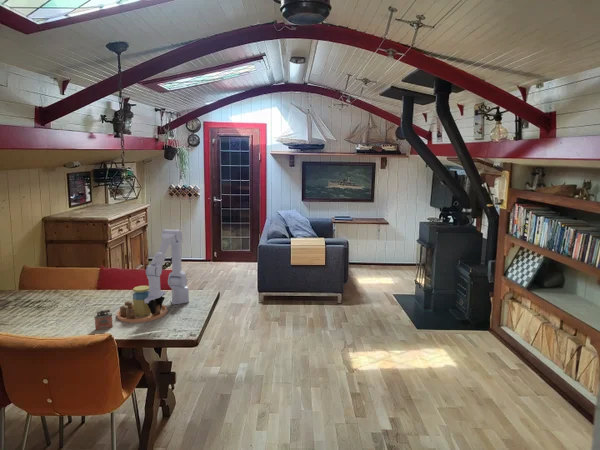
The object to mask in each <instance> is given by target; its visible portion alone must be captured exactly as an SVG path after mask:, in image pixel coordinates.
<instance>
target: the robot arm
mask: <svg viewBox="0 0 600 450" xmlns="http://www.w3.org/2000/svg"><path fill="white" fill-rule="evenodd" d="M160 236H161V242H160V245H159V247H158V252H155V253H154V256H153V257H152V260H151V262H150V264H148V265H147V267H146V268H145V276H146V278H147V280H148V286H149V295H148V297H147V298H146V299H144V302H145V303H147V305H148V306H149V308H150V311H151V314H155V309H156V304H158V305H160V311H161V307H162V304H164V300H165V296H166V294H167V293H166V291H163V290H162V289H161V275H162V272H163V264H164V261H165V260H166V252H167V251H168V249H169V247H170V245H171V272H170V273H169V274H168V279H167V285H168V286H169V288H170V289H171V299H170V302H171V304H172V306H174V305H181V304H188V303H190V296H189V295H190V294H189V293H190V292H189V286H187V284H188V278H187V274H186V272H185V271H183V270H182V243H183V231H181V230H180V229H167V228H164V229H163V230H161V235H160ZM154 300H155V301H154ZM151 314H150V315H151Z"/></svg>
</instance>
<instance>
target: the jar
mask: <svg viewBox="0 0 600 450" xmlns="http://www.w3.org/2000/svg"><path fill="white" fill-rule="evenodd" d="M132 291H133V293H132V302H133V307H134V314H135V317H144V316H148V315H151V311H150V308H149V306H148V305H147V303H145V302H144V299H146V298H147V297H148V295H149V285H138V286H134V288H132Z"/></svg>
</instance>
